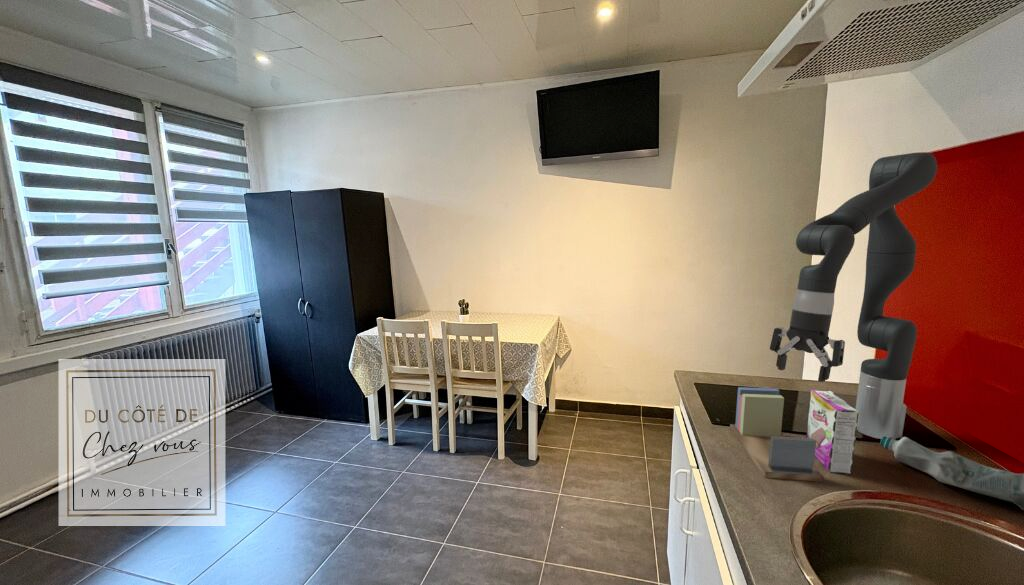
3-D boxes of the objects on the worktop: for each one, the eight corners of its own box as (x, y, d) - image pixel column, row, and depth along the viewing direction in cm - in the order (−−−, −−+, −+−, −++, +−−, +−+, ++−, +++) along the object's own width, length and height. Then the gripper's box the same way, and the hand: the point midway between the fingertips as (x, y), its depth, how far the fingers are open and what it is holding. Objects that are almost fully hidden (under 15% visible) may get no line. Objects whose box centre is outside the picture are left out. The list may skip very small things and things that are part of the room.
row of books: (773, 428, 110) (776, 388, 108) (782, 437, 105) (786, 396, 103) (735, 426, 112) (738, 387, 110) (742, 435, 107) (745, 394, 105)
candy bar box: (803, 446, 103) (809, 389, 101) (824, 448, 102) (831, 390, 100) (828, 473, 93) (835, 409, 90) (852, 475, 92) (860, 410, 89)
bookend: (809, 469, 92) (813, 438, 90) (815, 475, 90) (818, 443, 88) (768, 466, 93) (770, 436, 92) (772, 472, 91) (775, 441, 90)
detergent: (1048, 501, 81) (891, 442, 103) (1056, 472, 80) (894, 418, 101) (1032, 530, 75) (869, 461, 97) (1040, 500, 74) (872, 437, 95)
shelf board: (774, 431, 111) (775, 426, 111) (821, 481, 90) (822, 475, 89) (729, 428, 113) (730, 424, 113) (765, 477, 92) (765, 471, 92)
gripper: (856, 315, 88) (843, 383, 90) (786, 304, 100) (776, 364, 102) (842, 316, 84) (829, 388, 86) (771, 305, 96) (761, 367, 98)
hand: (800, 375), depth 94 cm, fingers open, 8 cm apart
